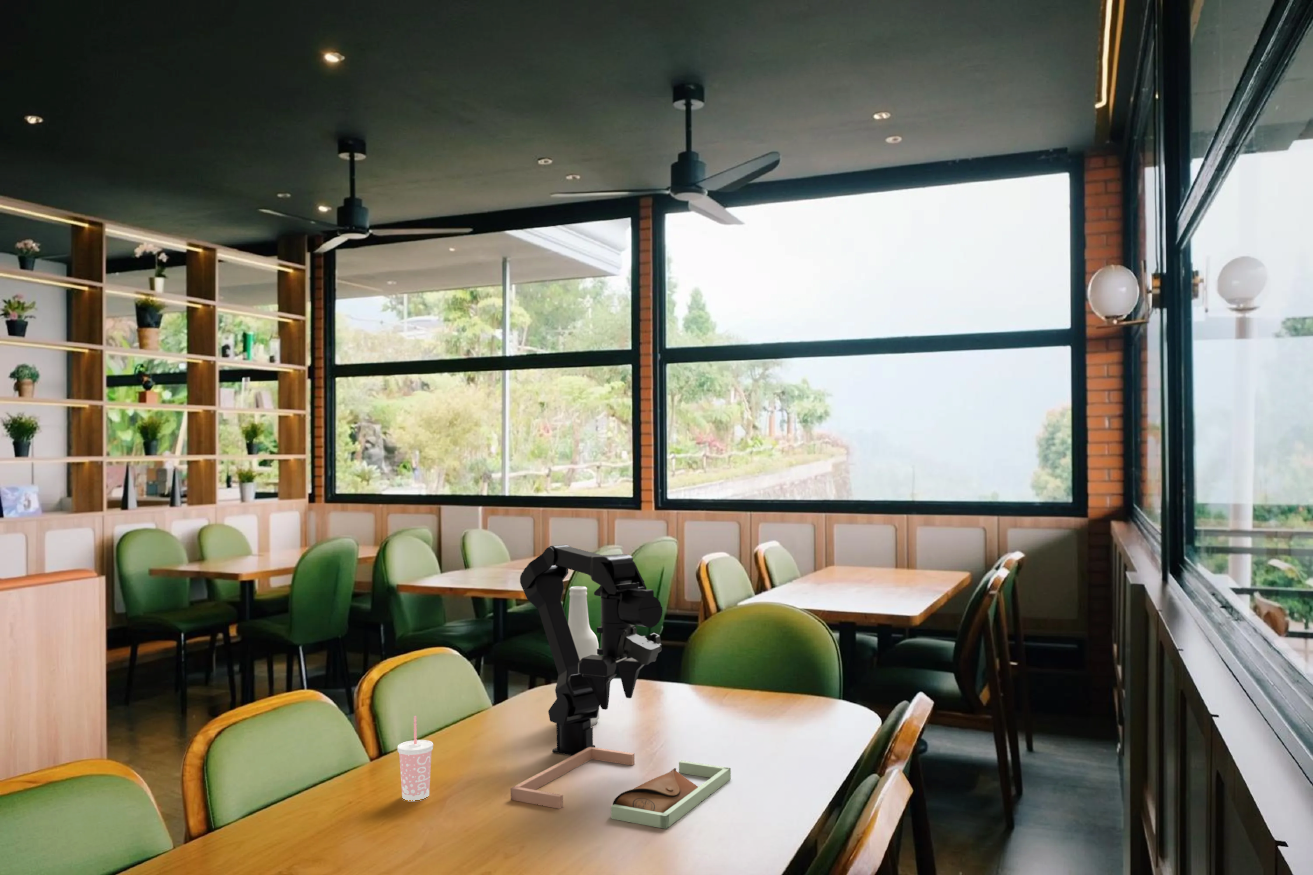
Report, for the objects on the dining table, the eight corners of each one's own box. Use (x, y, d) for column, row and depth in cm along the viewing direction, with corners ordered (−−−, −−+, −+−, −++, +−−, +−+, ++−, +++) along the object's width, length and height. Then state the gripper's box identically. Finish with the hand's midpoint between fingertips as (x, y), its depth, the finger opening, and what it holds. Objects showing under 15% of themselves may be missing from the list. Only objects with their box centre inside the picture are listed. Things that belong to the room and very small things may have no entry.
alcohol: (607, 720, 214) (605, 586, 214) (583, 730, 206) (582, 590, 207) (575, 715, 218) (574, 583, 219) (551, 724, 211) (550, 588, 211)
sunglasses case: (653, 825, 152) (636, 785, 154) (623, 840, 155) (606, 800, 157) (712, 792, 167) (695, 756, 169) (683, 806, 170) (667, 770, 172)
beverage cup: (401, 805, 162) (401, 722, 163) (394, 794, 168) (393, 714, 168) (437, 798, 165) (437, 717, 166) (428, 788, 171) (428, 709, 171)
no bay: (511, 799, 164) (510, 787, 165) (589, 756, 188) (589, 746, 188) (559, 808, 160) (559, 796, 160) (634, 763, 183) (634, 753, 183)
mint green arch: (611, 818, 155) (611, 806, 155) (681, 771, 178) (681, 760, 178) (666, 828, 151) (665, 815, 151) (730, 778, 174) (730, 767, 174)
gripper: (629, 632, 170) (630, 720, 169) (675, 616, 186) (676, 696, 186) (576, 627, 175) (577, 713, 175) (625, 612, 191) (626, 690, 191)
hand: (617, 703), depth 181 cm, fingers open, 9 cm apart
